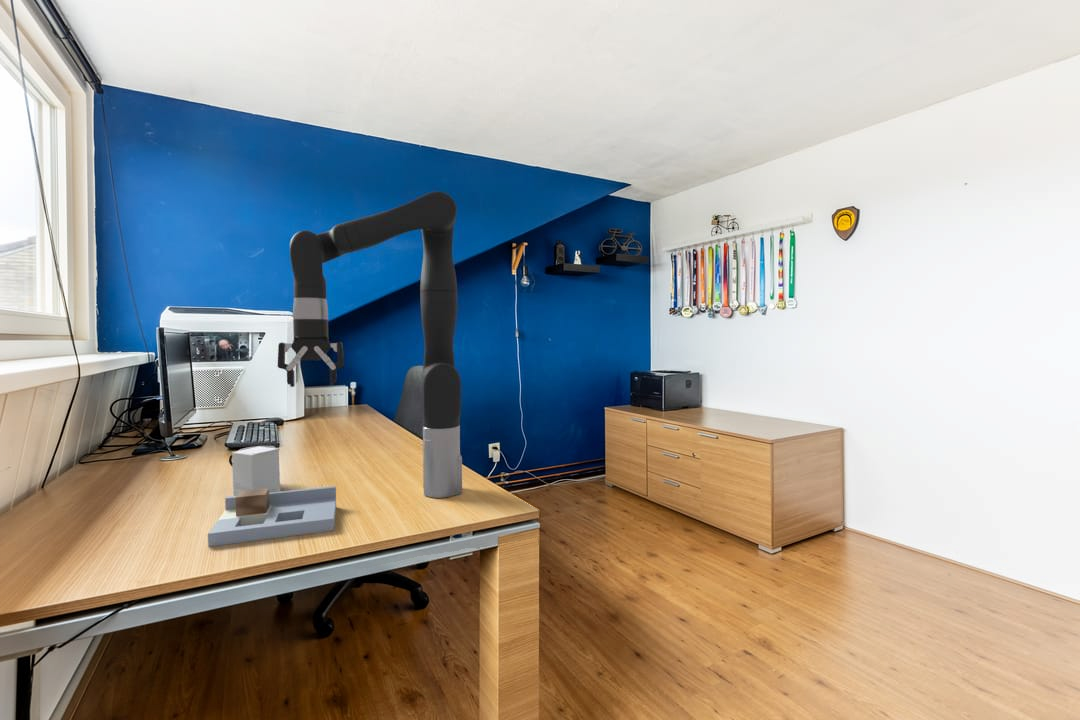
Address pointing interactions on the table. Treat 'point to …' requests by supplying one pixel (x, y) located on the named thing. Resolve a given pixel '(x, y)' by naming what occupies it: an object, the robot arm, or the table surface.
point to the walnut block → (252, 502)
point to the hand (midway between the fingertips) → (312, 385)
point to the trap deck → (278, 517)
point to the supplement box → (256, 469)
